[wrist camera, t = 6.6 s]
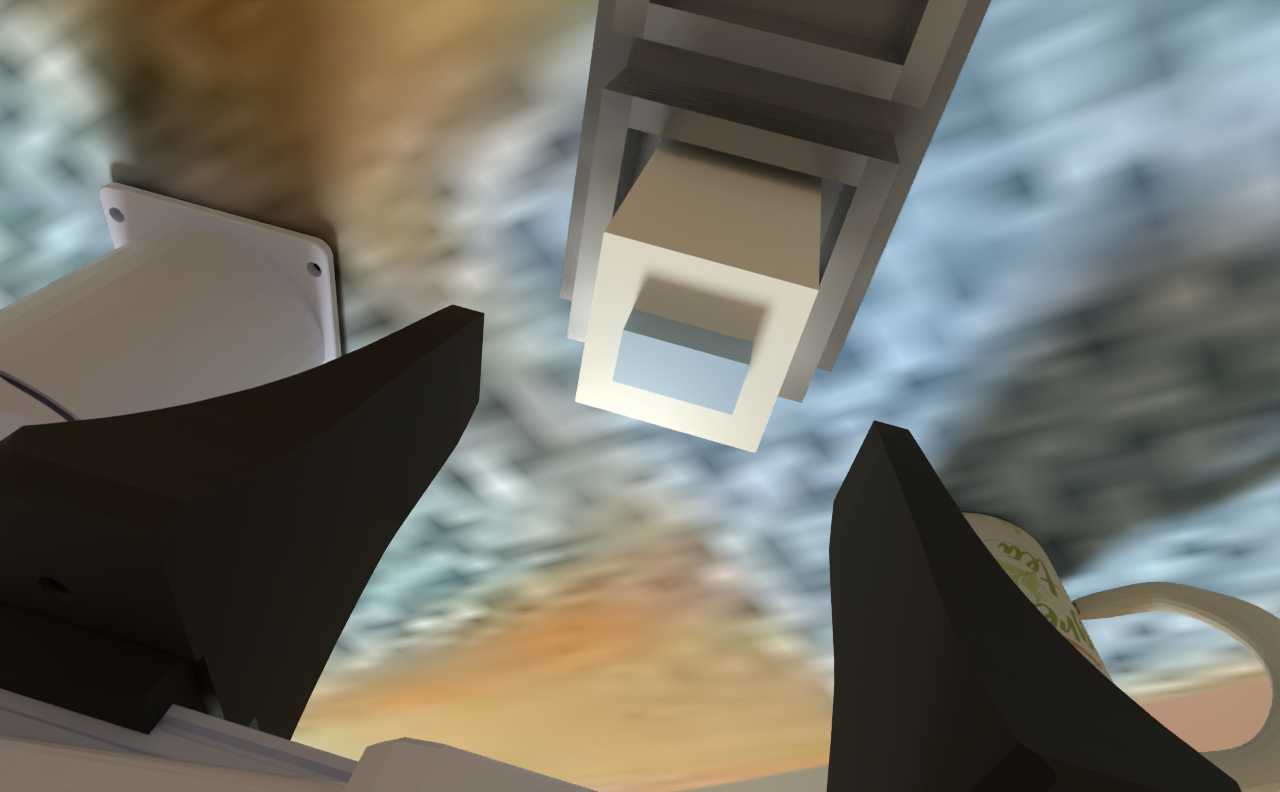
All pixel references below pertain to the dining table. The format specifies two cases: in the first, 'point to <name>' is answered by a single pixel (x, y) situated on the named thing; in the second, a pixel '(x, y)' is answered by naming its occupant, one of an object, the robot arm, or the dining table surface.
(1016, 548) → the mug
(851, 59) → the panel
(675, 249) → the plug
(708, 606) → the dining table surface
